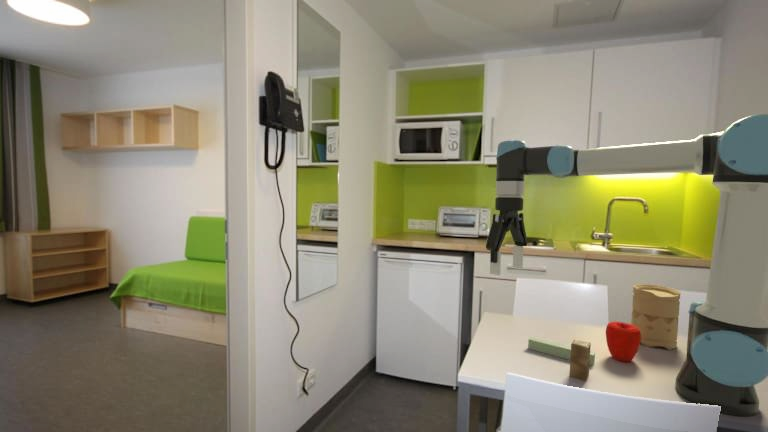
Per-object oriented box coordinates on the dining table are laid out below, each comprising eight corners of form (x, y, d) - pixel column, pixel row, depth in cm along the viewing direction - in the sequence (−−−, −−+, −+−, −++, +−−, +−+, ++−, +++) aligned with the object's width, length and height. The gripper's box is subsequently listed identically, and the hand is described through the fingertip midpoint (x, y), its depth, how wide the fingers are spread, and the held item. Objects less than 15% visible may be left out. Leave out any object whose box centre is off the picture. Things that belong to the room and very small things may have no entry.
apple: (633, 354, 114) (635, 320, 113) (644, 367, 106) (647, 330, 105) (600, 350, 116) (602, 316, 116) (609, 363, 108) (611, 326, 107)
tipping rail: (594, 362, 108) (594, 352, 108) (593, 365, 106) (593, 355, 106) (530, 346, 119) (530, 337, 119) (528, 348, 117) (528, 339, 117)
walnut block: (588, 375, 100) (590, 342, 100) (586, 381, 97) (588, 347, 97) (572, 371, 103) (574, 338, 102) (569, 376, 100) (571, 343, 99)
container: (686, 350, 118) (690, 294, 117) (647, 349, 118) (650, 293, 117) (657, 334, 131) (661, 284, 129) (621, 334, 131) (625, 283, 129)
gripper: (516, 196, 117) (514, 263, 118) (474, 196, 99) (471, 275, 100) (540, 196, 111) (537, 266, 113) (500, 196, 94) (497, 279, 95)
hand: (506, 270), depth 107 cm, fingers open, 13 cm apart
